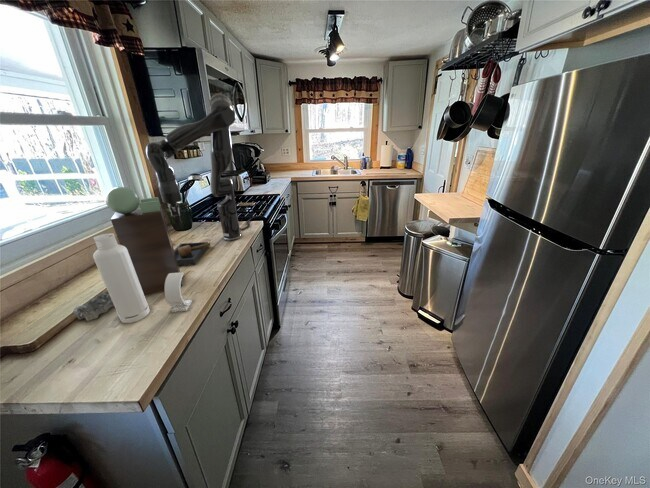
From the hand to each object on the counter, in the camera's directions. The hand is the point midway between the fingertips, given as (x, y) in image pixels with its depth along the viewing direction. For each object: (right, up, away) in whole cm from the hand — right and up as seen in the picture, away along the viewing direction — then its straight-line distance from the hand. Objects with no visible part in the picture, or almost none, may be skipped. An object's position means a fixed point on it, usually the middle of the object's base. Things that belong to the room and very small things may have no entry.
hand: (179, 225), depth 120 cm
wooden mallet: (+5, -9, +4) cm, 11 cm away
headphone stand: (+19, -30, -31) cm, 47 cm away
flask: (+2, +3, -30) cm, 30 cm away
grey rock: (-10, -31, -31) cm, 45 cm away
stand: (+3, -25, -18) cm, 31 cm away
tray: (+1, -15, +6) cm, 16 cm away
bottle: (+5, -32, -34) cm, 47 cm away
